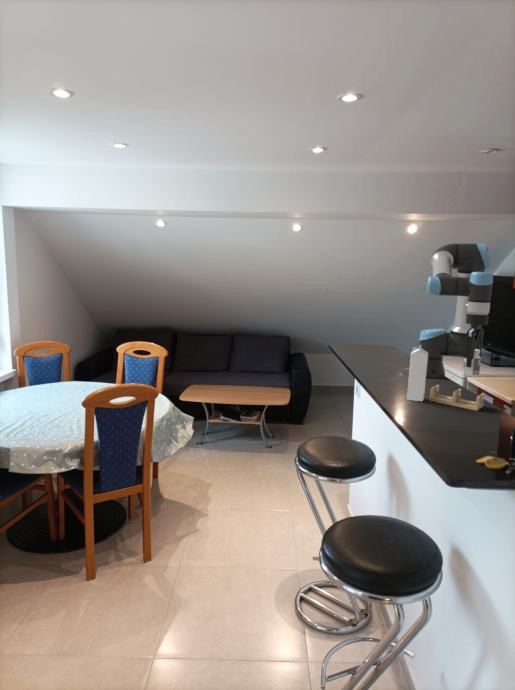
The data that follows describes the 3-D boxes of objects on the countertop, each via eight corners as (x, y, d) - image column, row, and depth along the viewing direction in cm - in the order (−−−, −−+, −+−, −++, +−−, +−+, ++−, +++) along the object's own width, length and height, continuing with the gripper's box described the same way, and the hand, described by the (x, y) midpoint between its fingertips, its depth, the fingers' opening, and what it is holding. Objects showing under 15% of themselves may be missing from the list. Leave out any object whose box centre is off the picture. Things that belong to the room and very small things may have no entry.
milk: (406, 400, 179) (410, 345, 176) (408, 396, 185) (413, 343, 181) (422, 402, 177) (427, 346, 173) (424, 398, 182) (429, 344, 178)
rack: (436, 396, 185) (437, 384, 184) (483, 406, 174) (484, 393, 173) (429, 400, 179) (430, 387, 178) (476, 410, 168) (478, 397, 167)
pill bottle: (480, 375, 172) (483, 349, 170) (476, 377, 167) (479, 351, 166) (464, 372, 175) (467, 347, 174) (460, 374, 171) (463, 349, 169)
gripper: (474, 312, 177) (468, 369, 181) (458, 313, 163) (452, 376, 167) (495, 313, 172) (488, 372, 176) (481, 315, 158) (473, 379, 162)
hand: (470, 374), depth 171 cm, fingers closed on pill bottle, 6 cm apart
